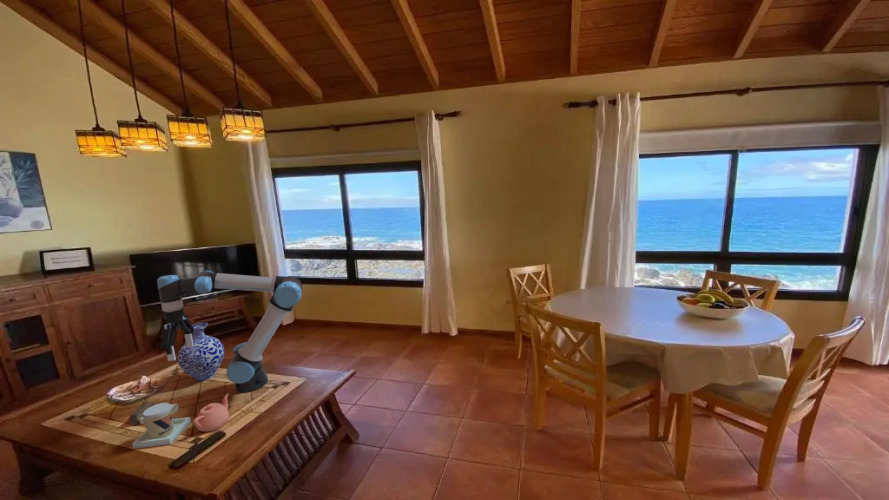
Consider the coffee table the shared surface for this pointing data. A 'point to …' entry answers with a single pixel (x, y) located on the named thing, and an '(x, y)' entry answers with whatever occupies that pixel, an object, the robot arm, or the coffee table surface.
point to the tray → (146, 442)
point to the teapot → (212, 416)
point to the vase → (201, 355)
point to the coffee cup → (159, 421)
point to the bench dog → (139, 413)
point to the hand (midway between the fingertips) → (181, 353)
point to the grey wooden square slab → (173, 409)
